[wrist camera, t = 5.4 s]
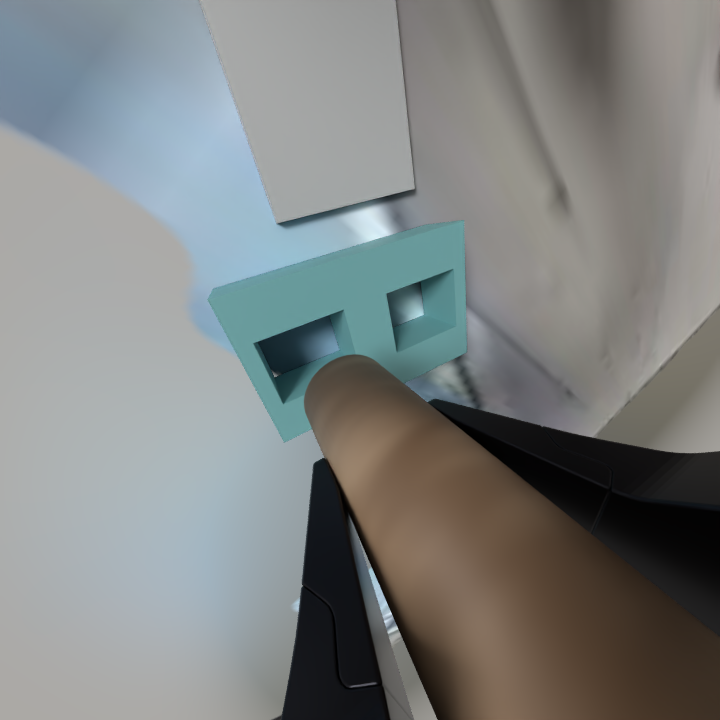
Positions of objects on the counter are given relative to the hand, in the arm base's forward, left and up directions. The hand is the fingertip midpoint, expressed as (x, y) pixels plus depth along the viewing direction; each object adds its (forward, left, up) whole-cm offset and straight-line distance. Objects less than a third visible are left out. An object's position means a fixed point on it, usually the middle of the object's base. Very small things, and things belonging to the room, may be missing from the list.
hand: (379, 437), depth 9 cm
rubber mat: (-6, -12, -12) cm, 18 cm away
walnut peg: (0, 0, -3) cm, 3 cm away
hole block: (-4, 0, -12) cm, 13 cm away
